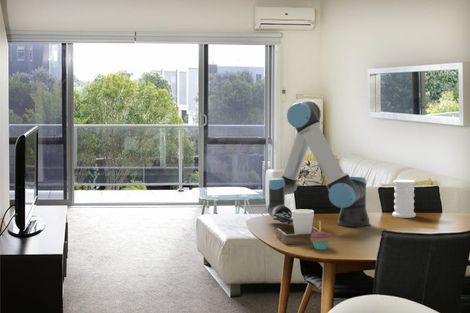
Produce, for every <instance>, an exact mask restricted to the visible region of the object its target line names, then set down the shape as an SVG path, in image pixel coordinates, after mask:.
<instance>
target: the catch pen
mask: <svg viewBox="0 0 470 313" xmlns="http://www.w3.org/2000/svg"><path fill="white" fill-rule="evenodd" d="M315 232H319V229H318V228H316V227H315V226H312V231H311V234H295V233H293V234H287V233H286V232H285V231H283V230H282V229H280V228H279V227H278V228H276V238H277V239H278V240H280V241H281V243H282V244H284V245H303V244H307V245H308V244H313V242H312V241H311V240H310V238H311V235H312V234H313V233H315Z"/></svg>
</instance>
